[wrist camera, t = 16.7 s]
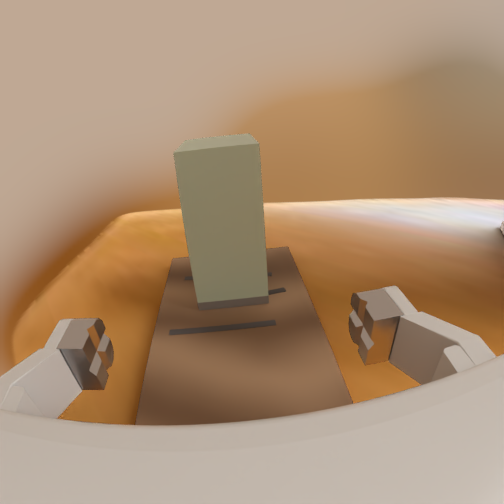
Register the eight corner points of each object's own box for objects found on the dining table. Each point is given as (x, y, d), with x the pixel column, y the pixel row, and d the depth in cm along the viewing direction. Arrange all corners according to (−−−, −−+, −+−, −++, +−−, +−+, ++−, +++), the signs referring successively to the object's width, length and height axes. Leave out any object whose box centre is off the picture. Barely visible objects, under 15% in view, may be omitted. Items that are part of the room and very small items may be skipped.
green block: (202, 266, 26) (185, 140, 21) (258, 260, 26) (249, 133, 22) (199, 310, 20) (173, 152, 16) (268, 303, 21) (259, 143, 16)
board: (174, 266, 28) (172, 258, 28) (288, 254, 28) (287, 246, 28) (135, 472, 11) (128, 464, 10) (364, 450, 11) (368, 441, 11)
